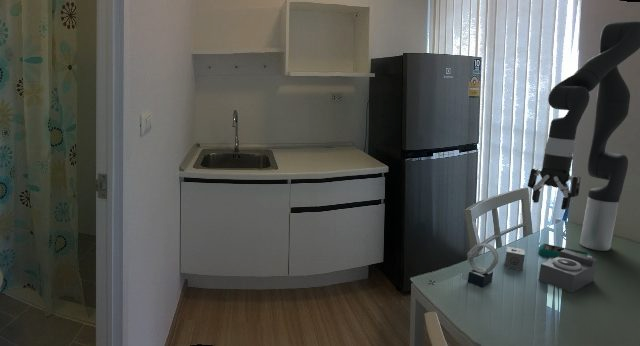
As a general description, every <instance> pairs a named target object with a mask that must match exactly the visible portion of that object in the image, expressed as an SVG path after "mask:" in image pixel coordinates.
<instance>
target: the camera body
mask: <svg viewBox="0 0 640 346" xmlns="http://www.w3.org/2000/svg"><path fill="white" fill-rule="evenodd" d="M597 263H598V258H594V257H593V256H592V255H591V256H585V255H582V254H579V253H576V252H572V251H569V250H566V249H564V250H561V251H560V255H559V256H558V257H556V258H550V259H549V260H546V261H545V262H541V263H540V268H539V275H538V279H537V280H538V282H542V283H544V284H547V285H550V286H552V287H555V288H557V289H560V290H564V291H565V292H568V293H575V292H576V291H578V290H579V289H581V288H584V287H585V286H586V285H588V284H591V283H593V282H594V280H595V275H596V268H597Z"/></svg>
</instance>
